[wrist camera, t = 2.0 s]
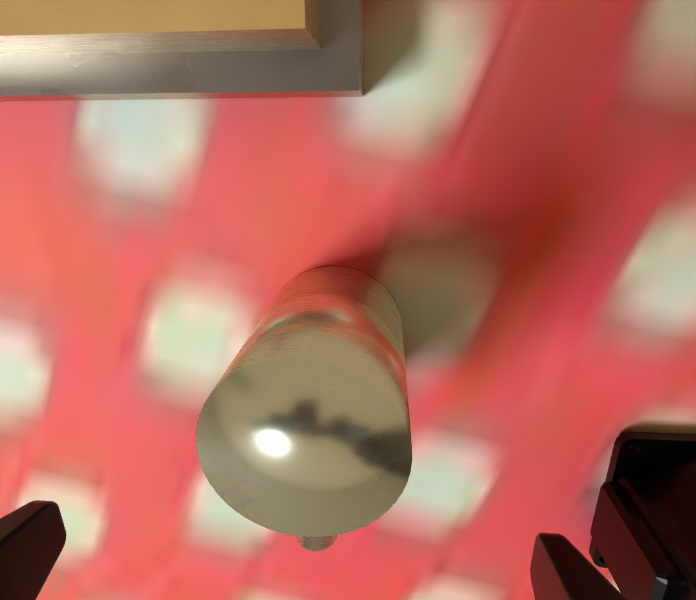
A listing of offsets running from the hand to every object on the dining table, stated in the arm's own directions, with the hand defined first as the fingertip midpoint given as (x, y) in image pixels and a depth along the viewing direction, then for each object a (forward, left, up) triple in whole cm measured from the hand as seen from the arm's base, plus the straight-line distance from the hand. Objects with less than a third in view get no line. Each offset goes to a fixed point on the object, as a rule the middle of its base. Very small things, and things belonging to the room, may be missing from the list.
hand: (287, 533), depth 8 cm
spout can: (0, 0, -9) cm, 9 cm away
